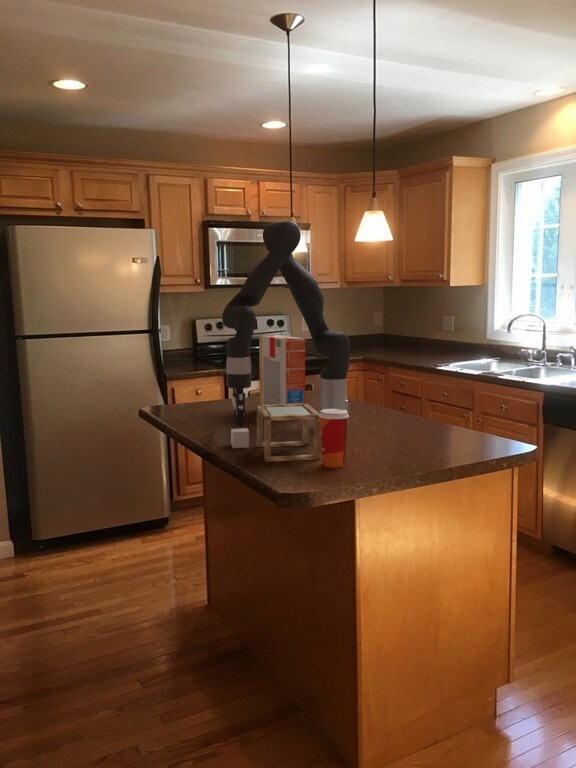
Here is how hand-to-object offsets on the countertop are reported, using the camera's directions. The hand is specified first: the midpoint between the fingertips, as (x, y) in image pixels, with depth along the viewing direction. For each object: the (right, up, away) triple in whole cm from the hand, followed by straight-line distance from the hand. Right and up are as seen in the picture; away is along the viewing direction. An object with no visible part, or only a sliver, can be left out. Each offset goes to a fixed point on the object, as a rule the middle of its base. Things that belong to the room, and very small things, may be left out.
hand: (238, 424), depth 199 cm
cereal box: (+13, 0, +53) cm, 55 cm away
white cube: (0, -7, +1) cm, 7 cm away
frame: (+15, -8, -8) cm, 19 cm away
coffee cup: (+28, -10, -21) cm, 36 cm away
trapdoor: (+15, +4, -9) cm, 18 cm away
